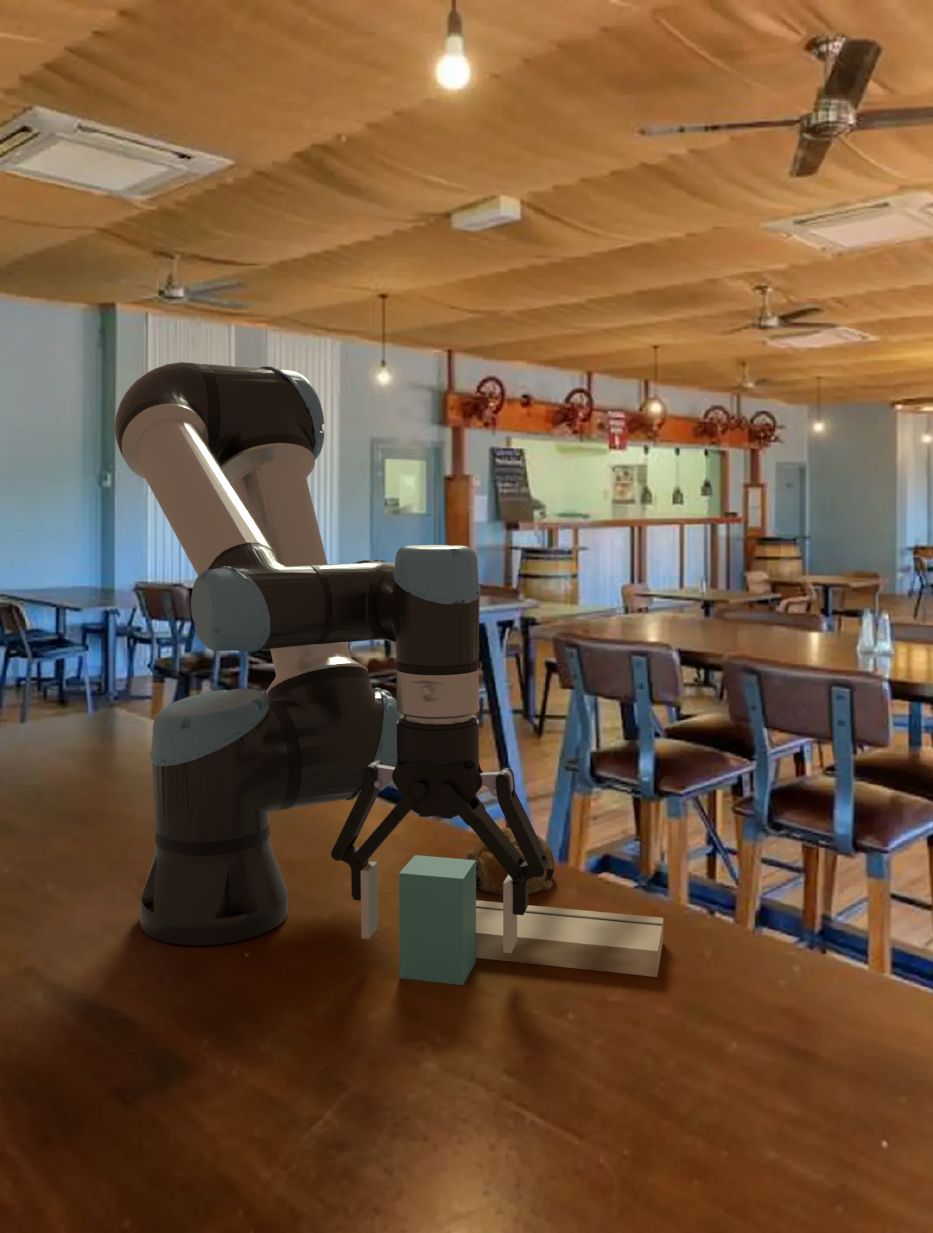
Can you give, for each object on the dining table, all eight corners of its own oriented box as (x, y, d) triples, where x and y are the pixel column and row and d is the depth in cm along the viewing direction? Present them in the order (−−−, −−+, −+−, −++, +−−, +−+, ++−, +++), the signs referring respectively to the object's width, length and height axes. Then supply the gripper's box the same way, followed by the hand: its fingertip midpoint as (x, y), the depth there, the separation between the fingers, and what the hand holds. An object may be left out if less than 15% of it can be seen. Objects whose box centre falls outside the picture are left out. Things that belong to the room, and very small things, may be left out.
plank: (417, 951, 105) (417, 925, 105) (439, 919, 113) (439, 895, 112) (657, 976, 99) (657, 949, 99) (662, 941, 107) (663, 916, 107)
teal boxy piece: (399, 977, 99) (399, 872, 98) (437, 923, 112) (437, 829, 111) (463, 984, 98) (463, 878, 97) (493, 928, 110) (494, 834, 109)
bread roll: (530, 931, 119) (562, 870, 117) (448, 886, 120) (479, 825, 119) (542, 898, 129) (572, 841, 127) (466, 857, 130) (494, 800, 128)
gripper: (293, 717, 98) (298, 942, 100) (567, 730, 92) (565, 970, 94) (324, 701, 105) (328, 912, 107) (579, 713, 99) (577, 936, 101)
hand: (439, 940), depth 101 cm, fingers open, 13 cm apart
